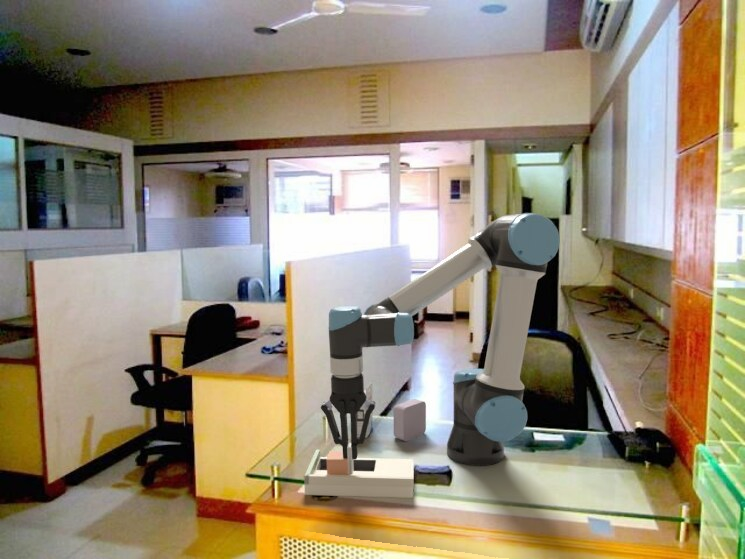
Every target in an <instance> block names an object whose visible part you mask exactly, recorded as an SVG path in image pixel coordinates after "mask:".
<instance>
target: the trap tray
mask: <svg viewBox="0 0 745 559" xmlns="http://www.w3.org/2000/svg"><path fill="white" fill-rule="evenodd" d="M327 457H328V456H321V449H315V451H314V454H313V456H312V458H311V460H310V463H309V465H308V467H307V470H306V471H305V473H304V476H303V479H304V496H334V497H336V496H337V497H364V498H365V497H369V498H398V499H399V498H401V499H402V498H403V499H405V498H406V499H414V492H413V489H414V480H415V479H414V477H415V476H414V473H415V471H414V470H415V469H414V467H415V465H414V464H415V462H414V458H378V457H376V458H374V457H369V458H368V457H357V459H353V463H354V470H353V474H350V475H327V460H326V459H327Z"/></svg>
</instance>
